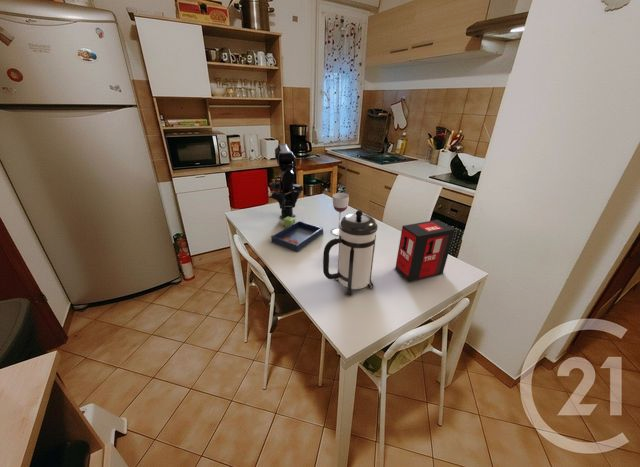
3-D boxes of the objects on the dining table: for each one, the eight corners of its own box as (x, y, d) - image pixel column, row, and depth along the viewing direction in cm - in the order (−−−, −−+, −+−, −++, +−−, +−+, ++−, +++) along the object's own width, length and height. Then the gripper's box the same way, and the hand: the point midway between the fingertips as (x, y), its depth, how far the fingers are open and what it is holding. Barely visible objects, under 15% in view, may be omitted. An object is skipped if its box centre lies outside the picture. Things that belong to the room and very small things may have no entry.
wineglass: (329, 234, 135) (330, 197, 125) (334, 227, 142) (336, 191, 132) (344, 237, 132) (346, 199, 123) (349, 229, 139) (351, 194, 130)
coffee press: (340, 267, 109) (343, 199, 95) (377, 277, 103) (387, 206, 89) (322, 292, 95) (322, 216, 81) (364, 306, 89) (373, 227, 75)
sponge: (288, 223, 146) (288, 216, 143) (295, 225, 143) (295, 218, 141) (283, 226, 143) (283, 218, 140) (291, 228, 140) (290, 220, 138)
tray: (298, 226, 143) (298, 220, 141) (322, 233, 135) (323, 227, 134) (271, 242, 127) (271, 236, 125) (297, 251, 119) (297, 245, 118)
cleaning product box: (408, 282, 100) (418, 236, 91) (395, 269, 108) (402, 225, 99) (442, 273, 106) (455, 229, 96) (427, 261, 113) (437, 219, 104)
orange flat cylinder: (285, 238, 128) (285, 237, 128) (292, 241, 127) (292, 239, 126) (280, 242, 126) (280, 240, 125) (286, 244, 124) (286, 242, 123)
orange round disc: (292, 241, 126) (292, 239, 126) (299, 243, 124) (299, 241, 124) (287, 245, 123) (287, 243, 123) (294, 247, 121) (294, 245, 121)
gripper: (286, 171, 141) (288, 199, 148) (262, 179, 127) (264, 209, 135) (303, 174, 136) (304, 203, 143) (279, 183, 122) (281, 214, 129)
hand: (288, 207), depth 138 cm, fingers open, 9 cm apart
